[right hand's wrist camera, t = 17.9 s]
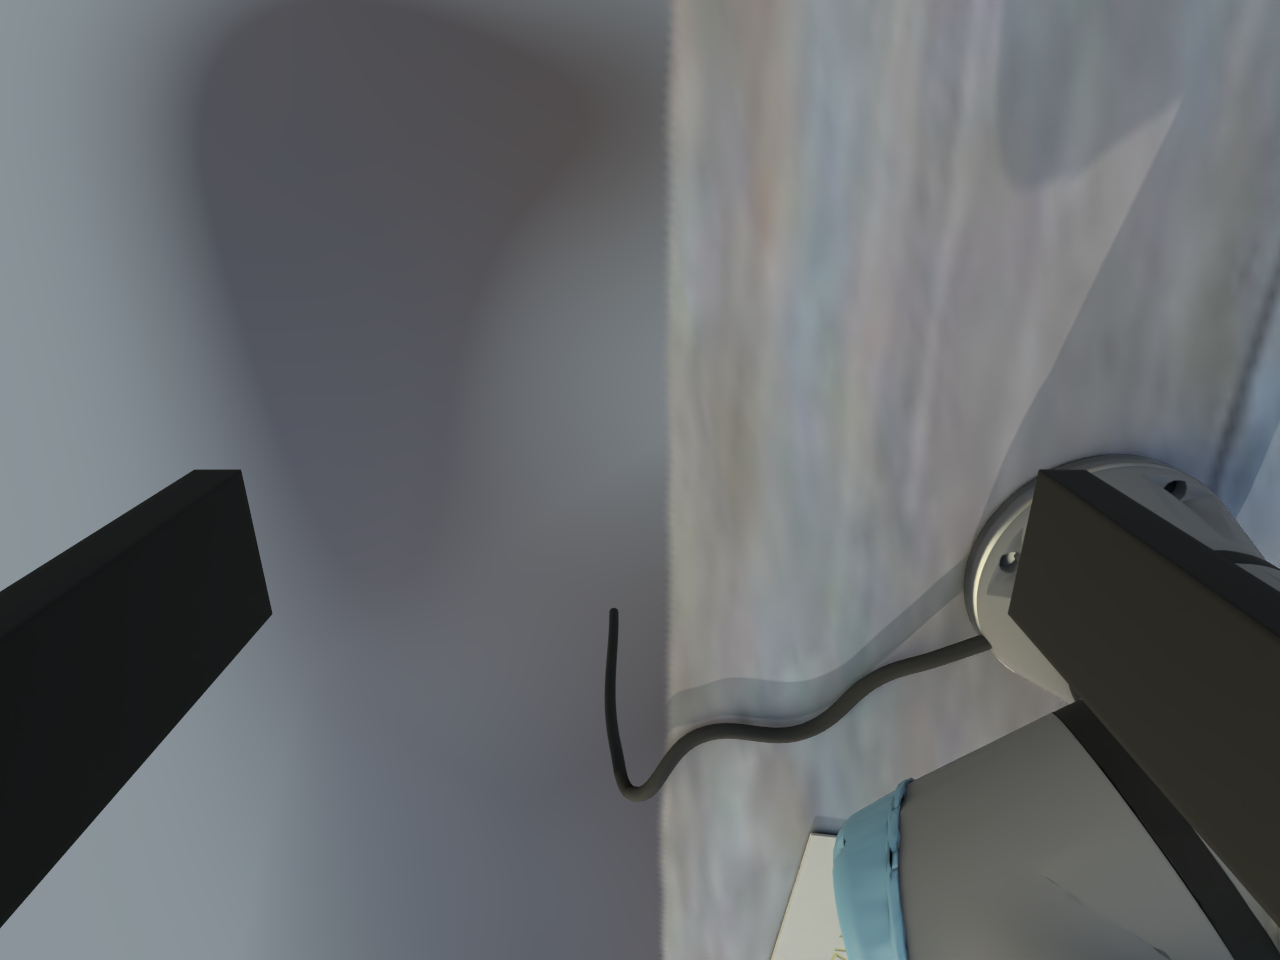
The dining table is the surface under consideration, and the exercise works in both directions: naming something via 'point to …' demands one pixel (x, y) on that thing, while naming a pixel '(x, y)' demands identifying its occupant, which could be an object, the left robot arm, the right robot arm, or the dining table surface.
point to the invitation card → (812, 909)
